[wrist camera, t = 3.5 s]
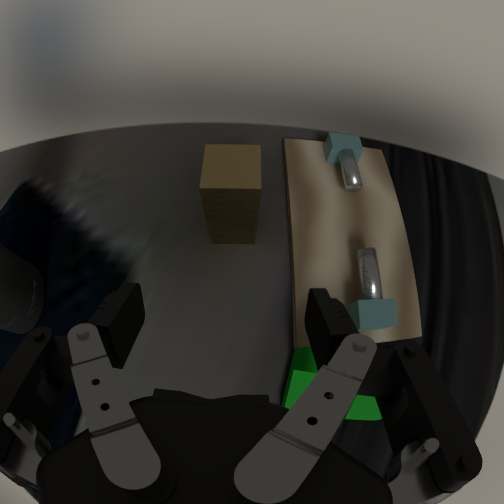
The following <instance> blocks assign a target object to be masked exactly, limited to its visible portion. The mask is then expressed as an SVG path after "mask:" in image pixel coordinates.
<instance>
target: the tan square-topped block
mask: <svg viewBox="0 0 504 504" xmlns="http://www.w3.org/2000/svg"><path fill="white" fill-rule="evenodd" d="M199 189H200V193H201V198H202V203H203V208H204V212H205V217H206V222H207V226H208V231H209V235H210V240H211V244H255V236H256V228H257V220H258V212H259V204H260V196H261V145H242V144H206V145H205V151H204V158H203V165H202V172H201V180H200V188H199Z"/></svg>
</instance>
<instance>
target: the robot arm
mask: <svg viewBox="0 0 504 504" xmlns="http://www.w3.org/2000/svg"><path fill="white" fill-rule="evenodd" d="M44 295H45V292H44V283H43V279H42V276H41V273H40V272H39V270H38V269H37V268H36V267H35V266H34V265H32V264H30V263H29V262H27V261H26V260H24V259H22V258H21V257H19V256H18V255H16V254H15V253H13V252H12V251H10V250H9V249H8V248H6V247H5V246H3V245H2V244H0V329H3V330H6V331H10V332H14V333H18V334H23V333H26V332H28V331H29V330H31V329H32V328H33V327H34V325H35V324H36V323H37V321H38V319H39V317H40V315H41V312H42V309H43V304H44ZM144 320H145V309H144V304H143V298H142V292H141V287H140V284H139V283H128V282H124V283H123V284H122V285H121V287H120V288H119V289H118V291H117V292H113V293H111V294H110V295H108V296H107V297H106V298H105V299H104V300H103V302H102V304H100V306H99V307H98V309H97V310H96V311H95V312H94V314H93V315H92V316H91V318H90V319H89V321H88V322H87V323H84V324H79V325H77V326H75V327H73V328H72V329H71V330H70V331H69V333H68V336H55V337H54V336H53V333H52V331H51V329H50V328H48V327H38V328H35V329H33V330H32V331H30V332H29V333H28V334H27V336H26V337H25V338H24V340H23V341H22V342H21V344H20V345H19V347H18V348H17V349H16V351H15V352H14V353H13V355H12V356H11V358H10V359H9V361H8V362H7V363H6V365H5V366H4V368H3V369H2V371H1V372H0V472H2V473H3V474H4V475H5V476H7V477H8V478H9V479H11V480H12V481H13V482H15V483H16V484H17V485H19V486H21V487H29V486H32V487H34V488H36V489H37V490H38V496H39V504H437V503H439V502H441V501H443V500H445V499H446V498H448V497H449V496H451V495H452V494H454V493H455V492H456V491H458V490H460V489H461V488H462V486H464V485H465V484H467V483H468V482H469V481H471V480H472V479H473V478H475V477H476V476H477V475H478V474H479V472H480V470H481V468H482V457H481V454H480V452H479V449H478V447H477V445H476V443H475V441H474V438H473V436H472V434H471V432H470V430H469V428H468V426H467V424H466V422H465V420H464V418H463V416H462V414H461V412H460V410H459V409H458V407H457V405H456V403H455V401H454V399H453V397H452V396H451V394H450V392H449V390H448V388H447V387H446V385H445V383H444V381H443V380H442V378H441V376H440V375H439V373H438V371H437V370H436V368H435V366H434V365H433V363H432V361H431V360H430V358H429V356H428V355H427V353H426V352H425V350H424V348H423V347H422V346H421V345H420V344H418V343H417V342H414V341H411V340H401V341H399V342H398V343H397V344H396V346H395V348H394V349H386V348H379V347H377V345H376V343H375V342H374V340H373V339H371V338H370V337H368V336H366V335H363V334H360V333H359V331H358V330H357V328H356V326H355V324H354V322H353V320H352V319H351V317H350V315H349V313H348V312H347V309H346V308H345V306H344V304H343V303H342V302H340V301H339V300H338V299H337V298H331V297H330V295H329V293H328V291H327V289H326V288H310V289H309V293H308V299H307V305H306V311H305V318H304V324H305V330H306V333H307V336H308V339H309V343H310V346H311V350H312V353H313V356H314V360H315V363H316V367H317V370H318V373H317V374H316V375H315V377H314V378H313V380H312V381H311V382H310V384H309V385H308V386H307V388H306V389H305V390H304V392H303V393H302V394H301V396H300V397H299V398H298V400H297V401H296V402H295V404H294V405H293V406H292V407H291V409H288V408H286V407H283V406H281V405H277V404H274V403H269V395H236V396H230V397H223V398H217V399H206V398H202V397H199V396H195V395H192V394H189V393H185V392H182V391H173V390H165V389H157V388H155V389H154V393H153V396H149V397H143V398H139V399H136V400H133V401H131V402H129V403H128V401H127V399H126V397H125V395H124V393H123V391H122V388H121V386H120V384H119V382H118V380H117V377H116V375H115V373H114V370H113V368H118V369H123V367H124V364H125V362H126V360H127V358H128V355H129V353H130V351H131V349H132V347H133V345H134V342H135V340H136V338H137V336H138V334H139V332H140V330H141V328H142V325H143V323H144ZM40 371H41V372H42V374H43V378H42V380H41V381H40V383H39V385H38V387H37V389H36V387H35V381H36V378H37V376H38V374H39V372H40ZM72 383H75V386H76V390H77V393H78V397H79V400H80V404H81V407H82V410H83V413H84V416H85V419H86V422H87V425H88V429H86V430H85V431H83V432H81V433H80V434H78V435H77V436H75V437H73V438H72V439H70V440H68V441H67V442H65V443H63V444H61V445H60V446H58V447H56V448H55V449H53V450H51V451H50V444H49V442H48V440H49V437H50V435H51V432H52V430H53V427H54V424H55V422H56V420H57V417H58V415H59V412H60V410H61V408H62V405H63V403H64V401H65V399H66V396H67V394H68V392H69V390H70V388H71V385H72ZM357 395H363V396H372V397H375V399H376V402H377V405H378V408H379V411H380V414H381V417H382V420H383V423H384V426H385V429H386V432H387V435H388V438H389V441H390V445H391V448H392V451H393V454H394V459H393V460H392V461H391V463H390V464H389V467H388V481H387V482H386V481H385V480H384V479H383V478H382V477H381V476H380V475H378V474H377V473H375V472H374V471H372V470H371V469H369V468H368V467H367V466H365V465H364V464H362V463H361V462H359V461H358V460H357V459H355V458H354V457H352V456H351V455H350V454H348V453H347V452H346V451H344V450H343V449H341V448H340V447H339V446H337V445H336V444H335V443H333V442H332V440H333V439H334V437H335V435H336V433H337V432H338V430H339V428H340V426H341V424H342V423H343V421H344V419H345V417H346V415H347V413H348V412H349V410H350V408H351V406H352V404H353V402H354V400H355V398H356V396H357Z"/></svg>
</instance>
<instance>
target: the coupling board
mask: <svg viewBox="0 0 504 504" xmlns="http://www.w3.org/2000/svg"><path fill="white" fill-rule="evenodd" d="M283 154H284V165H285V178H286V190H287V204H288V219H289V235H290V253H291V274H292V299H293V334H294V349H297V348H302V347H307V346H310V343H309V339H308V336H307V333H306V330H305V324H304V318H305V311H306V305H307V299H308V293H309V289H310V288H326V289H327V291H328V293H329V295H330V297H331V298H337V299H338V300H339V301H340V302H342V303H343V304H344V306H345V308H346V309H347V312H348V313H349V315H350V317H351V319H352V320H353V322H354V324H355V326H356V328H357V330H358V331H359V333H360V334H363V335H366V336H368V337H370V338H371V339H373V340H374V342H375V343H380V342H388V341H395V340H403V339H409V338H415V337H420V336H422V333H421V321H420V312H419V303H418V295H417V288H416V282H415V276H414V270H413V264H412V259H411V254H410V249H409V244H408V239H407V235H406V231H405V226H404V222H403V218H402V214H401V210H400V207H399V203H398V200H397V196H396V193H395V189H394V186H393V183H392V179H391V176H390V173H389V170H388V167H387V164H386V161H385V158H384V156H383V153H382V150H378V149H372V148H366V147H362V144H361V141H360V138H359V136H353V135H347V134H340V133H332V132H329V134H328V136H327V139H326V142H321V141H311V140H299V139H286V138H284V142H283Z"/></svg>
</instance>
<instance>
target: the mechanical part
mask: <svg viewBox="0 0 504 504" xmlns="http://www.w3.org/2000/svg"><path fill="white" fill-rule="evenodd" d="M317 373H318V370H317V367H316V363H315V360H314V356H313V353H312V350H311V346H307V347H302V348H297V349H295V350H294V354H293V359H292V363H291V367H290V372H289V376H288V380H287V384H286V388H285V392H284V396H283V400H282V404H281V406H283V407H286V408H288V409H291V407H292V406H293V405H294V404H295V402H296V401H297V400H298V398H299V397H300V396H301V394H302V393H303V392H304V390H305V389H306V388H307V386H308V385H309V384H310V382H311V381H312V380H313V378H314V377H315V375H316V374H317ZM345 419H356V420H379V419H382V417H381V414H380V411H379V408H378V405H377V402H376V399H375V397H372V396H363V395H357V396H356V398H355V400H354V402H353V404H352V406H351V408H350V410H349V412H348V413H347V415H346V417H345Z"/></svg>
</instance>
